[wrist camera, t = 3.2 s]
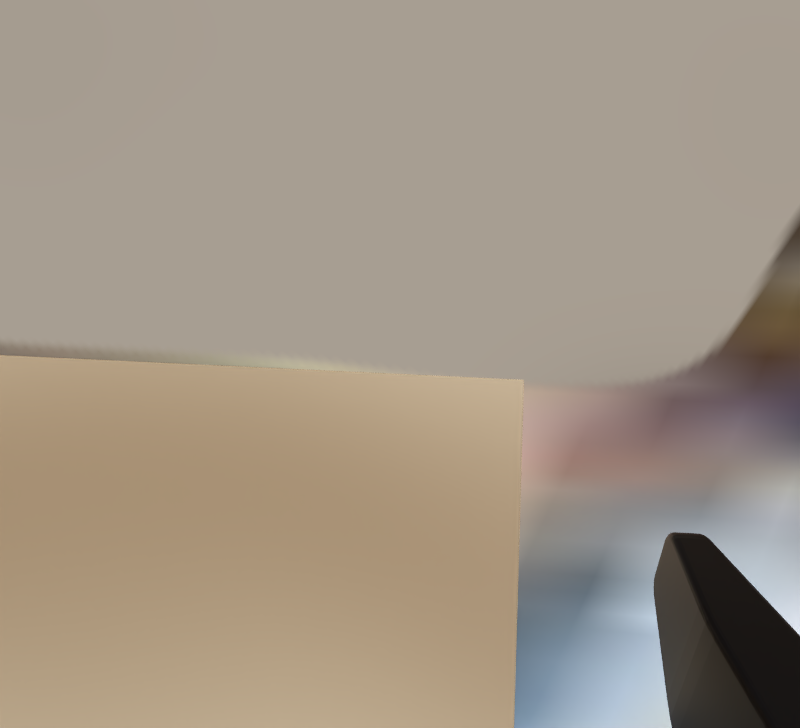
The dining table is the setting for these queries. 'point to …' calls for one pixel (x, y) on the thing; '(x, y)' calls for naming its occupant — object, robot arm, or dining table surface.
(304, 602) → the beech block
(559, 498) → the dining table surface
